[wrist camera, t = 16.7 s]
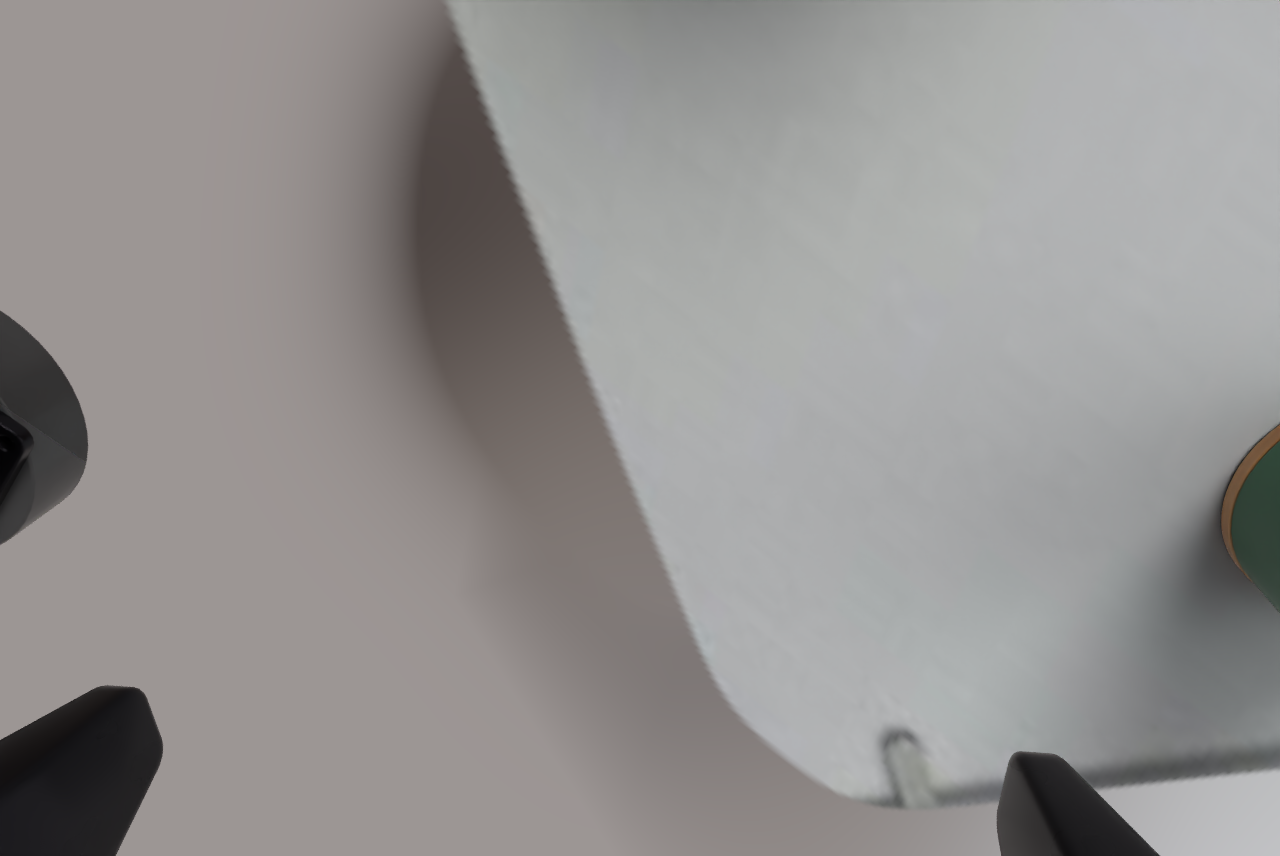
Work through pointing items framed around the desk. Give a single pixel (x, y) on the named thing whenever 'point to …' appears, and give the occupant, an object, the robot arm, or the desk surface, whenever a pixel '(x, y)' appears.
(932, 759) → the desk surface
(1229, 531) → the coaster
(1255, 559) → the bottle
